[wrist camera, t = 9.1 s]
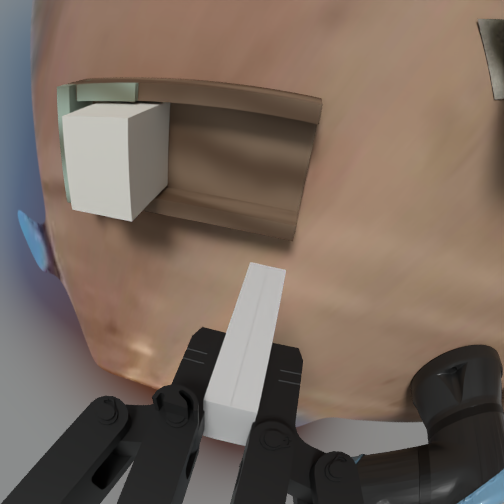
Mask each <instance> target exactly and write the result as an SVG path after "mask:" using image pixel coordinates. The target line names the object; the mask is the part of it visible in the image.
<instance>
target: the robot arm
mask: <svg viewBox="0 0 504 504" xmlns="http://www.w3.org/2000/svg"><path fill="white" fill-rule="evenodd" d="M285 273H286V270H284V269H279V268H274V267H270V266H265V265H261V264H256V263H252V262H250V265H249V268H248V271H247V274H246V277H245V280H244V282H243V285H242V288H241V291H240V294H239V297H238V300H237V303H236V306H235V309H234V312H233V315H232V318H231V321H230V324H229V326H228V329H227V332H226V333H224V332H220V331H216V330H212V329H208V328H204V327H202V328H201V329H199V330H198V331H197V332H196V333H195V334H194V335H193V336H192V338H191V340H190V342H189V345H188V347H187V350H186V352H185V354H184V356H183V359H182V361H181V363H180V366H179V368H178V370H177V373H176V375H175V377H174V380H173V382H172V384H171V385H168V386H164V387H162V388H160V389H159V390H157V391H156V392H155V394H154V395H153V397H152V399H153V403H154V404H152V405H125V404H124V403H123V402H122V401H121V400H120V399H118V398H116V397H113V396H103V397H99V398H97V399H96V400H94V401H93V402H92V403H91V404H90V405H89V406H88V407H87V408H86V409H85V410H84V411H83V413H82V414H81V415H80V416H79V417H78V418H77V419H76V420H75V421H74V423H72V425H71V426H70V427H69V428H68V429H67V430H66V431H65V432H64V434H63V435H62V436H61V437H60V438H59V439H58V440H57V441H56V442H55V443H54V445H53V446H52V447H51V448H50V449H49V450H48V451H47V453H45V455H44V456H43V457H42V458H41V459H40V460H39V461H38V462H37V464H36V465H35V466H34V467H33V468H32V469H31V470H30V471H29V473H28V474H27V475H26V476H25V477H24V478H23V479H22V480H21V482H20V483H19V484H18V485H17V486H16V488H14V490H13V491H12V492H11V493H10V494H9V495H8V496H7V498H6V499H5V500H4V501H3V502H2V503H1V504H100V503H101V502H102V501H103V499H104V498H105V497H106V496H107V494H108V493H109V492H110V490H111V489H112V488H113V487H114V485H115V484H116V483H117V482H118V480H119V479H120V478H121V477H122V475H123V474H124V473H125V471H126V470H127V469H128V467H129V466H130V465H131V463H132V462H133V461H134V462H133V465H132V468H131V470H130V473H129V475H128V477H127V480H126V482H125V485H124V487H123V489H122V492H121V495H120V497H119V499H118V502H117V504H182V502H183V499H184V496H185V493H186V490H187V487H188V484H189V481H190V478H191V474H192V471H193V468H194V465H195V462H196V459H197V456H198V453H199V444H200V441H201V438H202V435H203V436H207V437H211V438H215V439H218V440H223V441H227V442H231V443H235V444H239V445H244V446H245V450H244V454H243V458H242V461H241V463H240V466H239V467H240V468H239V472H238V476H237V480H236V484H235V488H234V491H233V495H232V499H231V503H230V504H285V502H286V496H287V493H288V494H290V495H292V496H293V502H294V504H502V503H503V502H504V413H503V408H502V404H501V398H502V383H501V378H502V374H503V368H502V363H501V360H500V357H499V354H498V352H497V351H496V350H495V349H494V348H492V347H489V346H485V345H471V346H465V347H461V348H458V349H455V350H452V351H449V352H447V353H445V354H443V355H441V356H439V357H437V358H435V359H434V360H432V361H431V362H429V363H428V364H426V365H425V366H424V367H423V368H422V369H421V370H420V371H419V372H418V373H417V374H416V375H415V377H414V378H413V380H412V383H411V394H412V401H413V403H414V405H415V407H416V408H417V410H418V412H419V414H420V416H421V419H422V421H423V423H424V425H425V427H426V429H427V433H428V444H426V445H421V446H418V447H412V448H407V449H402V450H396V451H390V452H384V453H378V454H370V455H365V454H361V455H359V456H356V457H350V456H349V455H347V454H345V453H343V452H335V451H333V452H329V453H324V452H322V451H320V450H318V449H316V448H314V447H311V446H310V445H308V444H306V443H305V442H304V441H303V440H302V439H301V438H300V437H299V435H298V433H297V431H296V427H295V420H296V413H297V406H298V398H299V390H300V382H301V374H302V365H303V359H302V356H301V354H300V351H299V348H295V347H290V346H285V345H280V344H275V343H272V341H273V336H274V331H275V326H276V321H277V316H278V311H279V305H280V300H281V295H282V289H283V284H284V279H285Z"/></svg>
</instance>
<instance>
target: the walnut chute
mask: <svg viewBox="0 0 504 504" xmlns="http://www.w3.org/2000/svg"><path fill="white" fill-rule="evenodd" d="M101 101H129V102H135V101H155V102H170V118H169V142H168V185H167V186H166V187H165V188H164V189H163V190H162V191H161V192H160V193H159V194H158V195H157V196H156V197H155V198H154V199H153V200H152V201H151V202H150V203H149V204H148V205H147V206H146V207H145V208H144V209H143V211H147V212H152V213H157V214H162V215H167V216H172V217H177V218H183V219H188V220H193V221H198V222H203V223H208V224H212V225H217V226H222V227H227V228H232V229H237V230H242V231H247V232H251V233H256V234H261V235H266V236H271V237H275V238H280V239H285V240H289V241H293V238H294V234H295V229H296V224H297V217H298V210H299V206H300V201H301V197H302V192H303V188H304V183H305V179H306V174H307V170H308V165H309V160H310V156H311V151H312V146H313V141H314V136H315V131H316V127H317V124H319V119H320V115H321V110H322V99H321V98H317V97H312V96H307V95H302V94H297V93H292V92H286V91H280V90H275V89H268V88H262V87H255V86H248V85H240V84H232V83H223V82H213V81H202V80H188V79H171V78H92V79H84V80H80V81H76V82H72V83H69V84H65V85H62V86H58V87H57V104H58V123H59V137H60V148H61V158H62V167H63V175H64V182H65V189H66V196H67V202H69V203H71V198H70V191H69V184H68V177H67V168H66V159H65V149H64V138H63V124H62V116H64V115H67V114H69V113H72V112H74V111H77V110H79V109H82V108H84V107H87V106H90V105H93V104H95V103H98V102H101Z"/></svg>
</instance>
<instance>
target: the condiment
mask: <svg viewBox="0 0 504 504" xmlns="http://www.w3.org/2000/svg"><path fill="white" fill-rule="evenodd" d="M478 23H479V26H480V32H481V35H482V40H483V43H484V49H485V53H486V57H487V61H488V68H489V71H490V75H491V82H492V87H493V92H494V98H495V99H504V20H502V19H478Z"/></svg>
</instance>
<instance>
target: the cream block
mask: <svg viewBox="0 0 504 504" xmlns="http://www.w3.org/2000/svg"><path fill="white" fill-rule="evenodd" d="M169 118H170V102H155V101H135V102H129V101H101V102H98V103H95V104H93V105H90V106H87V107H84V108H82V109H79V110H77V111H74V112H72V113H69V114H67V115H64V116H62V124H63V138H64V149H65V159H66V168H67V177H68V184H69V191H70V198H71V204H72V209H73V210H78V211H82V212H87V213H92V214H97V215H102V216H107V217H112V218H116V219H121V220H126V221H131V222H132V221H133V220H134V219H135V218H136V217H137V216H138V215H139V214H140V213H141V212H142V211H143V209H144V208H145V207H146V206H147V205H148V204H149V203H150V202H151V201H152V200H153V199H154V198H155V197H156V196H157V195H158V194H159V193H160V192H161V191H162V190H163V189H164V188H165V187H166V186H167V185H168V142H169Z"/></svg>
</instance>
